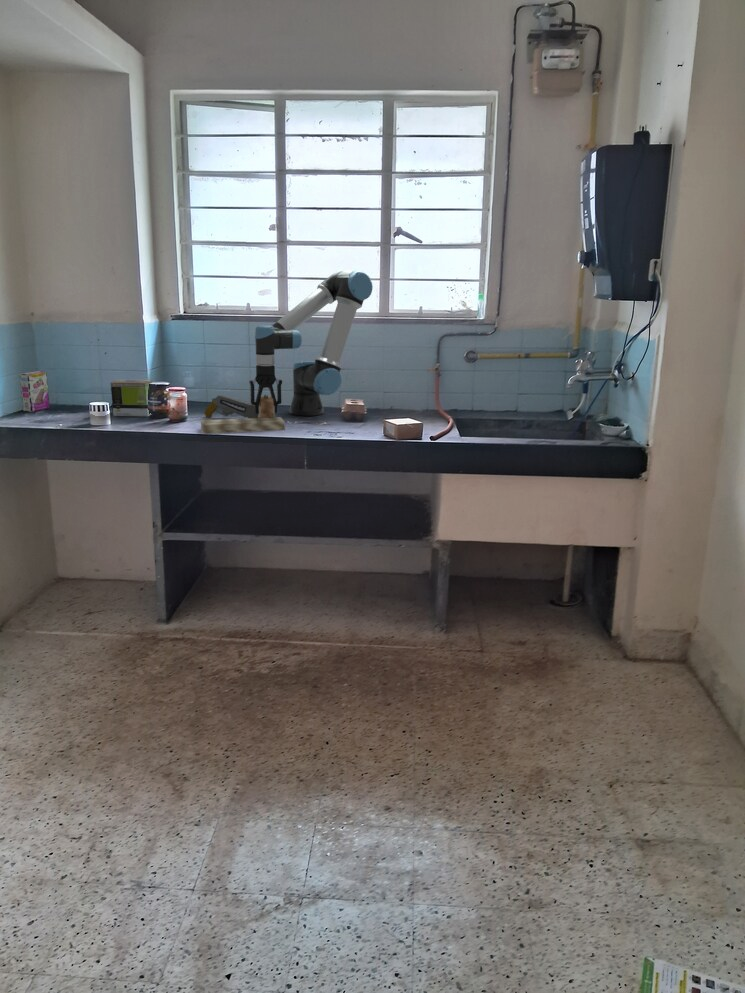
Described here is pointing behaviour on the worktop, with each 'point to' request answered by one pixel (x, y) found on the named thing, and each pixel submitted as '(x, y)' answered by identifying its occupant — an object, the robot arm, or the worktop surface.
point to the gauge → (266, 407)
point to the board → (242, 425)
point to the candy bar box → (34, 391)
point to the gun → (230, 407)
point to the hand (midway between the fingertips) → (266, 421)
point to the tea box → (130, 397)
